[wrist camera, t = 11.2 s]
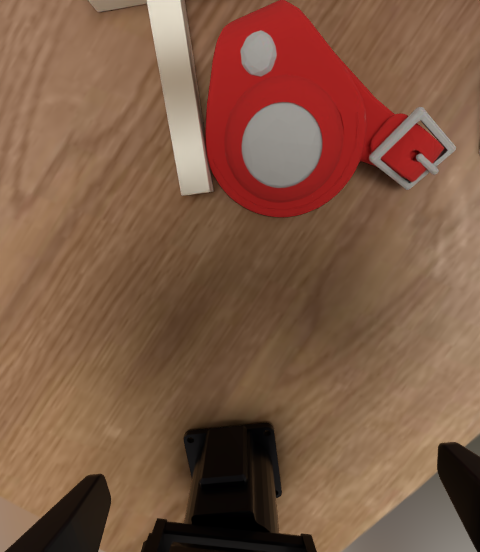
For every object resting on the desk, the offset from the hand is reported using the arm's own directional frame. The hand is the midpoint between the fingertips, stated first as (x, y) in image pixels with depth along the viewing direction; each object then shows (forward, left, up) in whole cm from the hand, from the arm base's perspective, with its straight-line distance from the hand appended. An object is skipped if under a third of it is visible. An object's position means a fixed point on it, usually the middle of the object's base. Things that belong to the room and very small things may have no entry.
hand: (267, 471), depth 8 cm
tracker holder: (+9, -4, -12) cm, 16 cm away
